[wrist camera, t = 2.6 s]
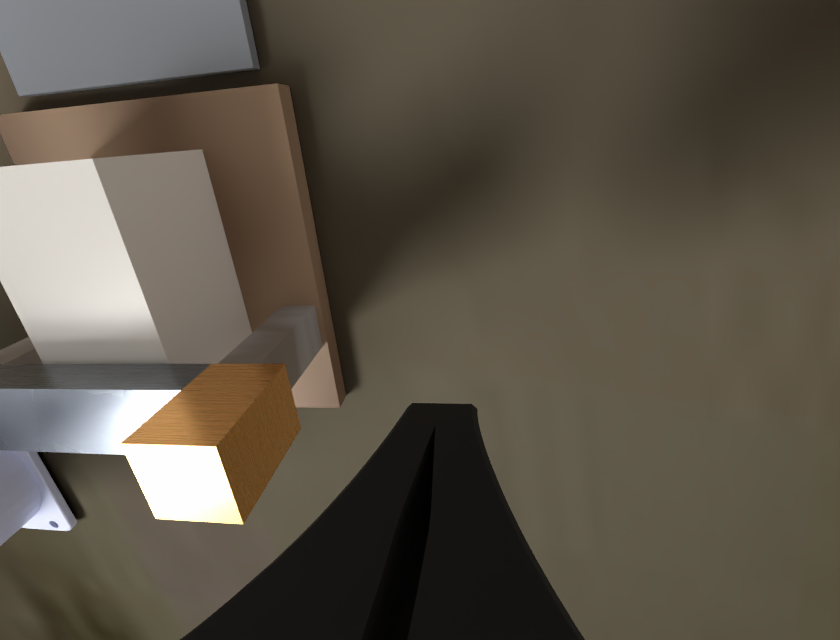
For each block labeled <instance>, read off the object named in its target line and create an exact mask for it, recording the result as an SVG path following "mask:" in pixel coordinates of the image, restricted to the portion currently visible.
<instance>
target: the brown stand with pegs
mask: <svg viewBox="0 0 840 640" xmlns="http://www.w3.org/2000/svg"><path fill="white" fill-rule="evenodd" d="M0 134H1V136H2V138H3V140H4V143H5V145H6V147H7V149H8V151H9V154H10V156H11V158H12V160H13V163H14V165H27V164H38V163H49V162H60V161H71V160H82V159H93V158H105V157H117V156H129V155H140V154H152V153H164V152H176V151H187V150H199V149H202V151H203V154H204V158H205V162H206V165H207V169H208V173H209V176H210V180H211V184H212V187H213V191H214V195H215V198H216V202H217V206H218V209H219V213H220V217H221V220H222V224H223V228H224V231H225V235H226V239H227V242H228V246H229V250H230V253H231V257H232V261H233V264H234V268H235V272H236V275H237V279H238V283H239V286H240V290H241V294H242V297H243V301H244V305H245V308H246V312H247V316H248V319H249V323H250V327H251V330H252V333H251V334H250V335H249V336H248V337H247V338H246V339H245V340H244V341H242V342H241V343H240V344H239V345H238V346H237V347H236V348H235V349H234V350H232V351H231V352H230V353H229V354H228V355H227V356H226V357H225V358H224V359H222V360H221V361H220V362H219V363H218V364H285V366H286V370H287V374H288V378H289V382H290V386H291V390H292V394H293V398H294V402H295V406H296V407H320V408H340V407H341V405H342V403H343V401H344V399H345V397H346V393H345V388H344V382H343V377H342V371H341V366H340V360H339V355H338V349H337V344H336V338H335V333H334V328H333V322H332V317H331V311H330V306H329V300H328V295H327V289H326V284H325V278H324V273H323V268H322V262H321V257H320V251H319V246H318V240H317V235H316V229H315V224H314V218H313V213H312V208H311V202H310V197H309V191H308V186H307V180H306V175H305V169H304V164H303V158H302V153H301V148H300V142H299V137H298V131H297V126H296V120H295V115H294V109H293V104H292V98H291V93H290V88H289V86H288V85H283V84H278V83H276V84H267V85H258V86H249V87H240V88H232V89H223V90H214V91H205V92H196V93H188V94H179V95H170V96H161V97H152V98H143V99H135V100H126V101H117V102H108V103H99V104H90V105H82V106H73V107H64V108H55V109H46V110H38V111H29V112H20V113H11V114H2V115H0ZM0 364H43V363H42V361H41V359H40V357H39V355H38V353H37V351H36V349H35V347H34V345H33V343H32V341H31V340H30V338H29V337H27V338H25V339H23V340H21V341H19V342H16V343H14V344H12V345H10V346H8V347H6V348H4V349H1V350H0Z"/></svg>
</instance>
